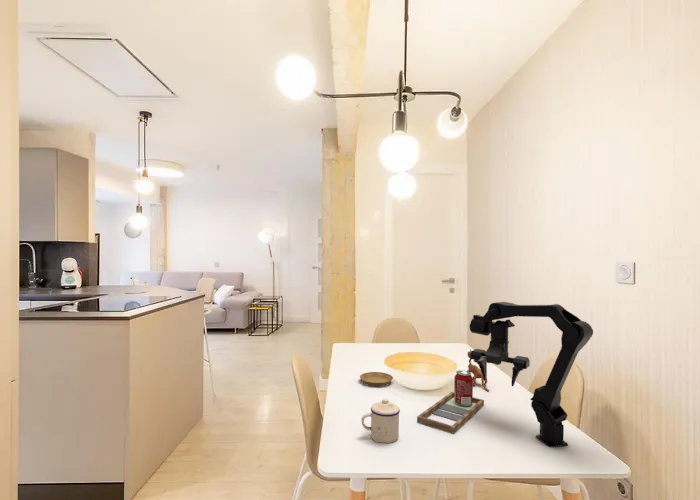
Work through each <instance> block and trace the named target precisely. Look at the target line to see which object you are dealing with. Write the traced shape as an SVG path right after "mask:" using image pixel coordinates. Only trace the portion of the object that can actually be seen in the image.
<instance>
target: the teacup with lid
mask: <svg viewBox="0 0 700 500" xmlns="http://www.w3.org/2000/svg"><path fill="white" fill-rule="evenodd" d="M370 411H371V413H370V412H369V413H365V414H363V415H362V417H361V419H360V420H361V425H362V427H363V429H364V430H366V431H370V436H371V438H372V439H373V440H374V441H376V442H379V443H383V444H390V443H394V442H396V441H398V439H399V437H400V436H399V435H400V434H399V431H400V430H399V429H400V426H399V425H400V412H401V410H400V407H399V406H398V405H397V404H395V403H393V402H390V401H389V399H388V398H382V399H381V401H378V402H375V403H373V404H372V405H371V407H370ZM369 417H371V419H370V421H371V422H370V426H367V425H366V424H365V419H366V418H369Z"/></svg>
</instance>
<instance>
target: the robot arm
mask: <svg viewBox="0 0 700 500" xmlns="http://www.w3.org/2000/svg"><path fill="white" fill-rule="evenodd" d="M515 317H525V318H527V317H529V318H531V317H534V318H535V317H537V318H549V319H551V321H552V322H553V323H554V325H555V327H557V329H559V330H560V332H562V333H561V337H560V338H561V339H560V340H561V341H560V342H561V348H560V351H559V352H558V355H557V356H556V359H555V362H554V364H553V366H552V368H551V371H550V373H549V375H548V378H547V380H546V382H545V384H544V385H541V386H539V387H536V388H535V389H534V391H533V395H532V397H531V398H530V401H531V403H530V406H531V408H532V410H533V412H534V414H535V417H536V421H537V423H539V434H536V435H535V438H537V439H538V440H540V441H541V442H542V443H543V444H545V445H546V446H547V447H549V448H550V447H551V448H552V447H553V448H554V447H563V446H569V443H568V442H567V441H565V440H564V431H565V429H564V424H563V422H564V421H566V420H567V418H568V414H567V411H565V410H564V409H563V407H562V406H561V401H562V394H561V393H562V392H561V391H562V389H563V387H564V385H565V382H566V380H567V378H568V375H569V373H570V371H571V369H572V367H573V365H574V362H575V361H576V358H577V356H578V353H579V352H580V351H581V350H582V349H583V348H584V347H585V346H586V345H587V344H588V342H589V341H590V340H591V338H592V337H593V334H594V330H593V328H592V326H591V325H590V323H588V322H586V321H583V320H581V319H580V318H579V317H578V316H576V315H575V314H573V313H571V311H569V310H567V309H566V308H565V307H563V306H562V305H560V304H559V303H553V304H515V303H513V302H507V301H498V302H492V303H490V305H489V306H488V309H487V311H486V312H485V314H484V315H480V314H473V317H472V319H471V320H470V322H469V330H470V333H473V334H477V335H480V336H487V337H488V336H489V335H490V341H489V344H488V345H489V346H488V348H487V349H486V350H485V349H480V348H475V349H473V350H471V353H470V358H469V359H471V360H473V362H474V363H476V364H477V365H478V368H479V369H480V370H481V372H482V375H483V378H484V380H486V378H487V379H488V377H487V375H488V374H487V373H488V371H487V370H488V369H487V367H488V365H487V364H492V365H495V366H499V365H501V364H502V362H503V363H508V364H512V365H513V367H512V368H511V369H512V374H511V387H514V386H515V383H516V381H517V378H518V376H519V374H520V373H521V371H523V370H527V368H529V367H530V363H531V359H529V357H528V356H527V357H526V356H522V355H516V356H515V357H511V356H510V357H509V355H510V354H509V353H510V352H509V342H510V340H509V329H510V328H514V327H515V324H514V323H513V321H511V319H508V318H515ZM503 319H505V320H503Z"/></svg>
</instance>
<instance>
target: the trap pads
mask: <svg viewBox="0 0 700 500" xmlns="http://www.w3.org/2000/svg"><path fill="white" fill-rule="evenodd" d="M467 412H468V410H464V409H460V408H456V407H453V406H449V405H445V404H444V405H443V406H441V407H440V408H439V409H437V410H436V411H435V412H433V413H432V414H431V415H435V416H438V417H442V418H445V419H448V420H451V421H455V422H457V421H458V420H459V419H460V418H461V417H462V416H463V415H465V414H466V413H467Z"/></svg>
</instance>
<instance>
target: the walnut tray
mask: <svg viewBox="0 0 700 500" xmlns="http://www.w3.org/2000/svg"><path fill="white" fill-rule="evenodd" d="M452 398H454V391H450V392H449V393H448V394H447V395H445V396H444V397H443V398H441V399H439V400H438V401H437V402H435V403H434V404H432V405H431V406H429V407H427V409H425V410H424V411H423V412H421V413H420V414H419V415H417V416H416V423H419V424H421V425H424V426H427V427H431V428H433V429H437V430H440V431H443V432H446V433H449V434H453V435H454V434H456V433H457V432H458V431H459V430H460V429H461V428H462V427H463V426H464V425H465V424H466V423H467V422H468V421H469V420H470V419H471V418H472V417H474V415H476V414H477V412H478V411H479V410H481V409H482V408H483V407H484V406H485V400H484V399H482V398H478V397H474V396H473V402H472V403H476V405H475V406H473V407H472V408H471V409H470V410H469V411H468V412H467V413H466V414H465V415H461V416H462V417H461V418H460V419H459V420H458V421H455V423H453V424H452V425H451V424H447V423H444V422H441V421H438V420H434V419H431V418H430V416H431V415H433V414H432V413H433V412H435V411H436V410H437V409H439V408H440V407H441V406H443V405H444V404H445V403H447V402H448V401H449V400H451V399H452ZM439 410H440V409H439Z"/></svg>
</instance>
